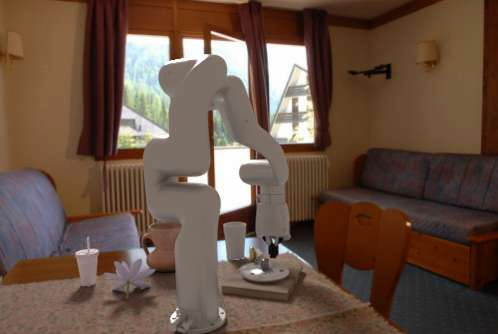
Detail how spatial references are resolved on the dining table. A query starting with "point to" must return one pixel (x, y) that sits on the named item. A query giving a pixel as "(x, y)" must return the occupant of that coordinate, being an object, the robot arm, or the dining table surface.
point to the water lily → (130, 275)
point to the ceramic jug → (162, 246)
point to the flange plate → (264, 271)
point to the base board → (263, 285)
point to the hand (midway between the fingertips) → (273, 257)
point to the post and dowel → (263, 261)
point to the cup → (235, 239)
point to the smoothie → (87, 265)
